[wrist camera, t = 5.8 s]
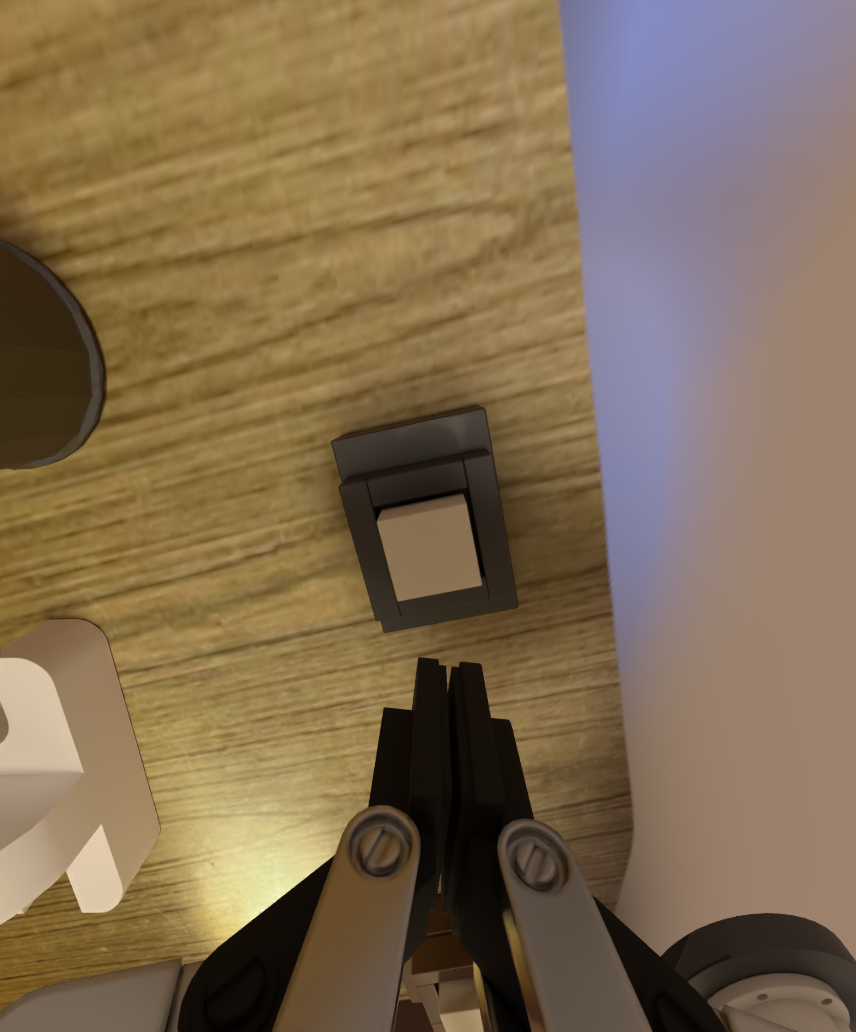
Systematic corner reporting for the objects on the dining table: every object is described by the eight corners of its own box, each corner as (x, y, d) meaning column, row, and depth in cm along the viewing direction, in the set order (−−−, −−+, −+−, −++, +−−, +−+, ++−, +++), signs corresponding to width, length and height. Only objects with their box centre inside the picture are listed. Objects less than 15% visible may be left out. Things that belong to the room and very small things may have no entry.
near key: (477, 568, 19) (482, 586, 17) (399, 583, 19) (397, 602, 17) (463, 492, 18) (466, 503, 16) (381, 509, 18) (376, 521, 16)
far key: (492, 968, 27) (497, 1006, 25) (503, 1002, 28) (508, 1041, 26) (438, 976, 27) (438, 1015, 25) (451, 1010, 28) (452, 1049, 26)
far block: (525, 879, 30) (539, 952, 26) (541, 943, 32) (557, 1019, 28) (389, 902, 30) (383, 976, 26) (413, 963, 32) (411, 1040, 28)
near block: (511, 588, 23) (527, 627, 19) (387, 612, 24) (379, 654, 20) (479, 405, 20) (491, 408, 16) (340, 436, 21) (319, 446, 17)
